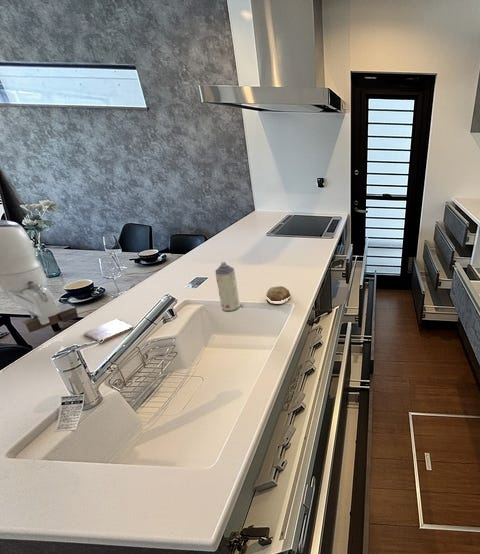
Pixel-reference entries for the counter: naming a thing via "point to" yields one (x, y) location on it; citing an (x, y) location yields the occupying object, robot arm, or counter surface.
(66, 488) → the counter surface
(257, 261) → the counter surface
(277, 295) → the bread roll
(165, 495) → the counter surface
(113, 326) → the light flat block
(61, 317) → the dish brush
